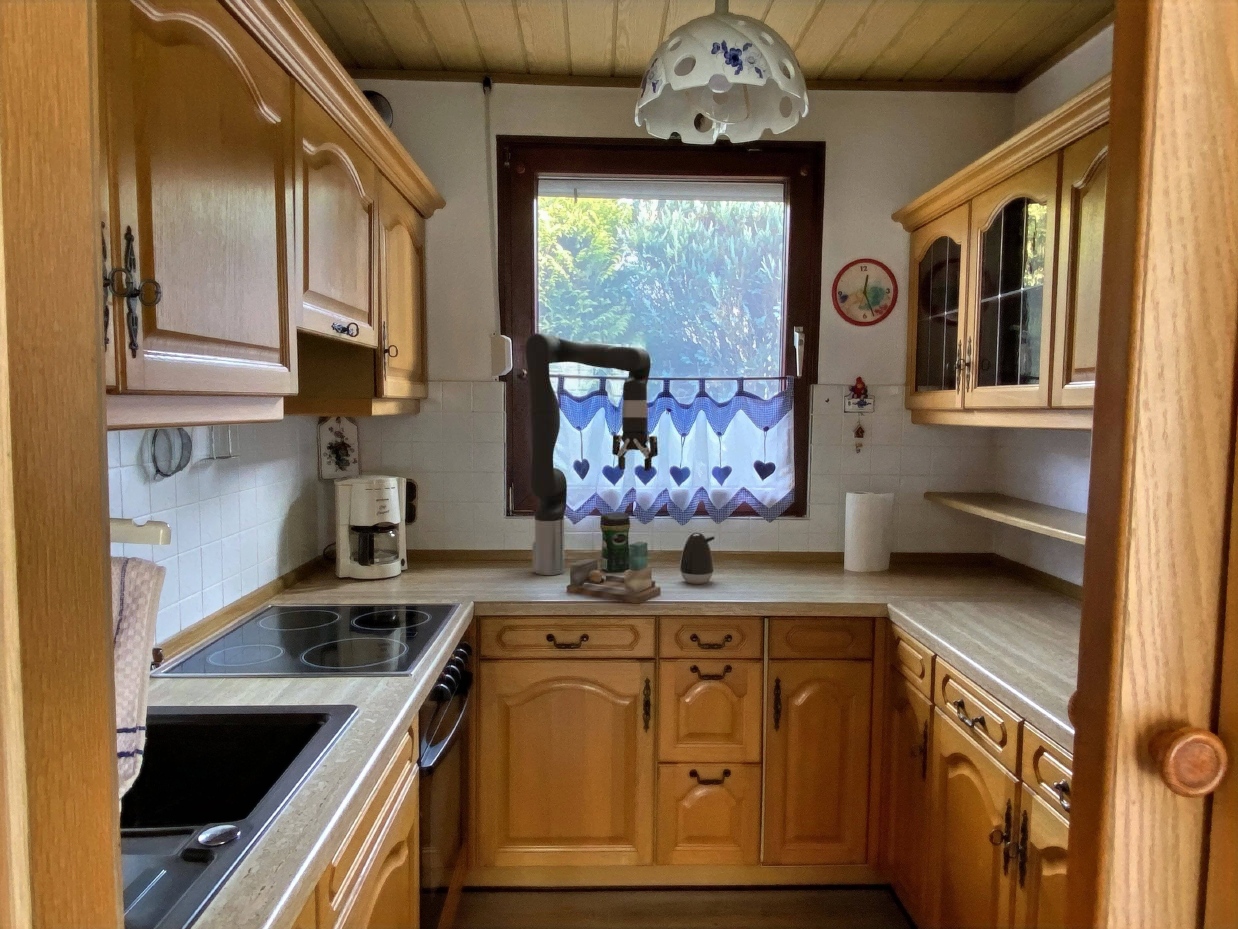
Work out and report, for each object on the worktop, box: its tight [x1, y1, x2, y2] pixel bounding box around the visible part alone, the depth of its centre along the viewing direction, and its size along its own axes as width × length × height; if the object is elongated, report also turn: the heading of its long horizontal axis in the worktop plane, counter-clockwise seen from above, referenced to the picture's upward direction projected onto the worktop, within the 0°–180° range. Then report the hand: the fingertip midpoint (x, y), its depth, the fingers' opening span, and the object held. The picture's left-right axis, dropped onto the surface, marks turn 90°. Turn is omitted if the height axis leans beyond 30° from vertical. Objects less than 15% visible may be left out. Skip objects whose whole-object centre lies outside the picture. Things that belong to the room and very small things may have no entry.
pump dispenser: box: [679, 532, 715, 585], centre depth 233 cm, size 10×10×15 cm
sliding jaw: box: [624, 541, 653, 593], centre depth 216 cm, size 3×10×13 cm, turn 149°
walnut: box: [588, 569, 603, 584], centre depth 223 cm, size 4×4×4 cm
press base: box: [566, 557, 662, 605], centre depth 220 cm, size 24×13×8 cm, turn 59°
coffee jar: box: [599, 512, 631, 573], centre depth 250 cm, size 10×8×19 cm
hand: (634, 470), depth 230 cm, fingers open, 8 cm apart
